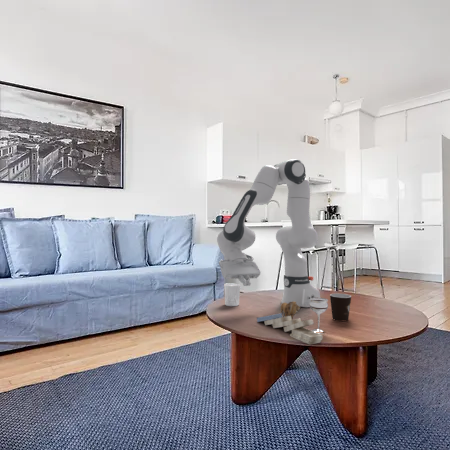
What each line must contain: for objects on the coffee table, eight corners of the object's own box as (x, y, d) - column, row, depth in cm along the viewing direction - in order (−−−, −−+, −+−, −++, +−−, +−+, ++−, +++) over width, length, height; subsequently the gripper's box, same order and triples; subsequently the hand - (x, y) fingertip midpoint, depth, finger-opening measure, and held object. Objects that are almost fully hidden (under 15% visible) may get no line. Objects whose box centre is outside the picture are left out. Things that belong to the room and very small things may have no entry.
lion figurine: (301, 324, 139) (301, 302, 139) (289, 325, 137) (290, 303, 137) (284, 315, 153) (284, 294, 153) (273, 316, 151) (273, 295, 151)
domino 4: (292, 326, 132) (312, 319, 125) (293, 330, 131) (313, 323, 124) (283, 327, 128) (303, 320, 122) (284, 331, 128) (304, 325, 121)
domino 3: (280, 322, 137) (300, 318, 130) (281, 326, 136) (301, 322, 129) (272, 324, 133) (292, 320, 126) (273, 328, 133) (293, 324, 126)
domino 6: (300, 331, 127) (320, 339, 118) (300, 336, 127) (320, 344, 118) (290, 333, 124) (310, 342, 116) (289, 338, 124) (309, 347, 116)
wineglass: (324, 328, 134) (324, 297, 134) (330, 334, 127) (330, 301, 127) (307, 328, 133) (307, 297, 133) (312, 334, 127) (312, 301, 127)
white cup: (238, 307, 167) (238, 286, 167) (222, 306, 168) (222, 285, 168) (241, 303, 175) (241, 283, 175) (225, 302, 176) (225, 282, 176)
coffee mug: (340, 323, 141) (340, 298, 141) (325, 317, 149) (325, 294, 149) (360, 319, 147) (360, 295, 147) (345, 314, 154) (345, 292, 154)
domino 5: (302, 327, 127) (322, 335, 118) (302, 331, 127) (322, 339, 118) (291, 329, 124) (311, 337, 116) (291, 333, 124) (311, 342, 116)
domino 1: (266, 316, 145) (281, 313, 137) (266, 320, 145) (282, 317, 137) (256, 317, 142) (271, 315, 134) (257, 321, 142) (272, 319, 134)
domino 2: (273, 319, 141) (290, 315, 133) (274, 323, 140) (291, 319, 133) (264, 321, 138) (281, 317, 130) (265, 325, 137) (282, 321, 130)
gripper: (221, 255, 153) (232, 281, 145) (255, 256, 166) (267, 280, 158) (214, 264, 157) (225, 290, 149) (248, 264, 169) (260, 288, 161)
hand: (247, 285), depth 153 cm, fingers closed
